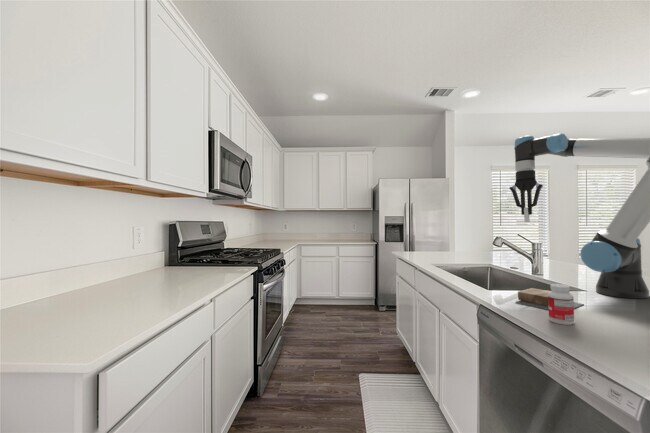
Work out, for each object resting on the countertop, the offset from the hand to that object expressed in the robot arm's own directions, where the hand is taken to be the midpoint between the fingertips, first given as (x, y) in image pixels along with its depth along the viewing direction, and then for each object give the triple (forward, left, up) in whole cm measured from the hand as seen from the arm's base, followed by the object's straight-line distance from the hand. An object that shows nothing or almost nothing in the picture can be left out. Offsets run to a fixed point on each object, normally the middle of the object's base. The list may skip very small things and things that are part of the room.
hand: (527, 221), depth 137 cm
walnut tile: (-4, +26, -27) cm, 38 cm away
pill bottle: (-17, +48, -30) cm, 59 cm away
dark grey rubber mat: (-11, +28, -29) cm, 42 cm away
